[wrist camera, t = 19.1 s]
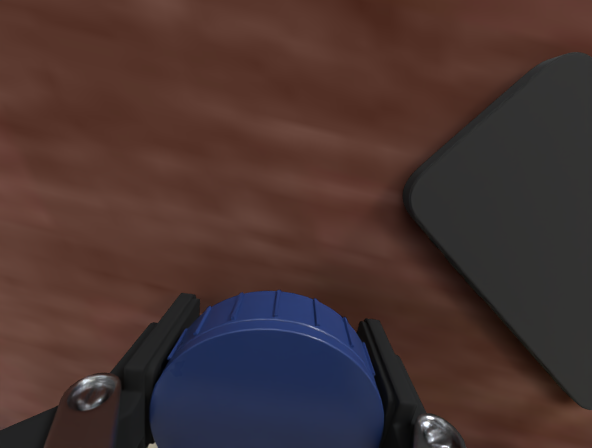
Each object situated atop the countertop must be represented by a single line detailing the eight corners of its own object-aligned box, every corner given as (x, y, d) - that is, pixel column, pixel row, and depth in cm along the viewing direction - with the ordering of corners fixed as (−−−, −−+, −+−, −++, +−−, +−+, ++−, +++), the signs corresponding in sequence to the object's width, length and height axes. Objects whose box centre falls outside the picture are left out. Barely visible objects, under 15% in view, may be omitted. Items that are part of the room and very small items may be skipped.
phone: (588, 419, 13) (394, 196, 10) (572, 403, 14) (386, 193, 11) (753, 328, 12) (584, 31, 8) (723, 316, 12) (560, 41, 9)
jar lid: (136, 335, 9) (96, 382, 7) (324, 256, 8) (331, 287, 7) (233, 465, 11) (219, 529, 9) (396, 410, 10) (418, 470, 8)
